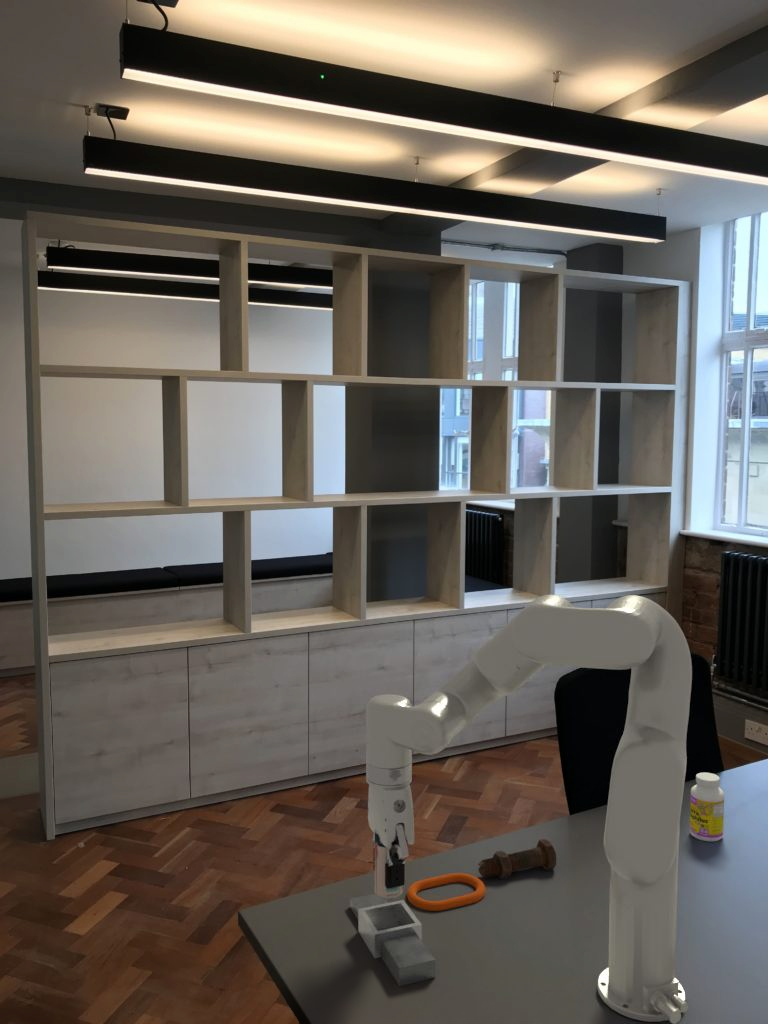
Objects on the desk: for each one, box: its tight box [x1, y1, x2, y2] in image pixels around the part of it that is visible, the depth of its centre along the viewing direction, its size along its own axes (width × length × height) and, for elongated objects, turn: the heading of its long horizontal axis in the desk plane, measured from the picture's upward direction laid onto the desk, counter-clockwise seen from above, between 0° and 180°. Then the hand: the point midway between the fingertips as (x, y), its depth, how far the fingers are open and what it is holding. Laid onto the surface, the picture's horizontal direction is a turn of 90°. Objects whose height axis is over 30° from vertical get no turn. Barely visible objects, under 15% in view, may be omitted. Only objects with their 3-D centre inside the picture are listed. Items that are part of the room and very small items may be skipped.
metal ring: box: [406, 872, 487, 912], centre depth 158 cm, size 10×2×15 cm
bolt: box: [477, 838, 557, 879], centre depth 166 cm, size 6×5×15 cm
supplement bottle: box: [689, 772, 725, 843], centre depth 181 cm, size 7×7×13 cm
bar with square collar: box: [349, 893, 436, 987], centre depth 143 cm, size 24×8×4 cm, turn 20°
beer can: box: [373, 829, 404, 900], centre depth 142 cm, size 5×5×12 cm
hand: (388, 877), depth 143 cm, fingers closed on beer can, 4 cm apart
